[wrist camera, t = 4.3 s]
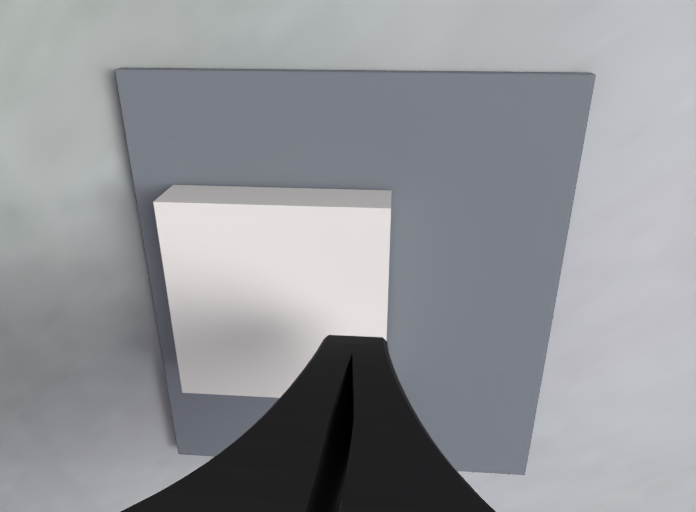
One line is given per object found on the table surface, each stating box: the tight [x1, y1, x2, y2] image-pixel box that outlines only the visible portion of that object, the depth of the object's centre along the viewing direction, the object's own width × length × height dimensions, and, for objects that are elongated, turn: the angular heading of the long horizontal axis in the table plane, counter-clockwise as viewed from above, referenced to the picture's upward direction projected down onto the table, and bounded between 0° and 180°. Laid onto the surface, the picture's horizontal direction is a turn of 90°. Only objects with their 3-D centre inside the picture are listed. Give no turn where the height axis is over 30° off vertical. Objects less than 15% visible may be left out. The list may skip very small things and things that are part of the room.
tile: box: [153, 185, 392, 398], centre depth 16 cm, size 6×2×6 cm
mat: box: [115, 68, 596, 475], centre depth 17 cm, size 13×12×1 cm
